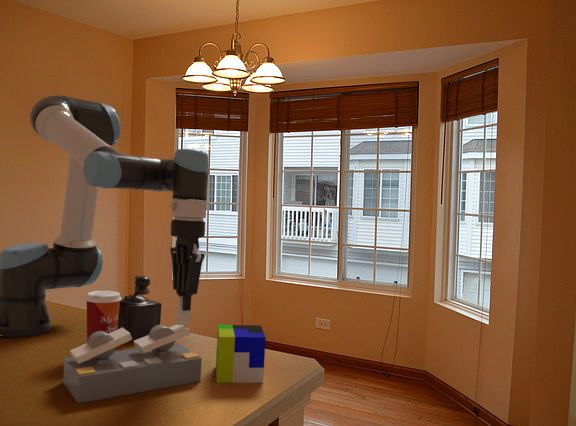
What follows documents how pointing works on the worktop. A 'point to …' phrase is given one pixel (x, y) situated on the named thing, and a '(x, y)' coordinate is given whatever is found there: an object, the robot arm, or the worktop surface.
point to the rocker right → (161, 338)
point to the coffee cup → (102, 311)
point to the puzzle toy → (240, 354)
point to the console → (130, 372)
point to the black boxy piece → (139, 311)
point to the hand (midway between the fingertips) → (183, 323)
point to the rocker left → (100, 345)
